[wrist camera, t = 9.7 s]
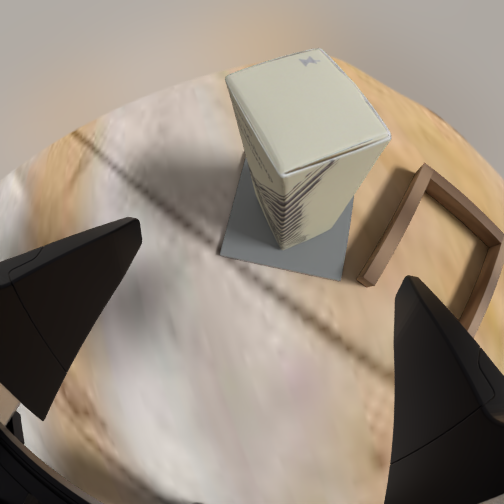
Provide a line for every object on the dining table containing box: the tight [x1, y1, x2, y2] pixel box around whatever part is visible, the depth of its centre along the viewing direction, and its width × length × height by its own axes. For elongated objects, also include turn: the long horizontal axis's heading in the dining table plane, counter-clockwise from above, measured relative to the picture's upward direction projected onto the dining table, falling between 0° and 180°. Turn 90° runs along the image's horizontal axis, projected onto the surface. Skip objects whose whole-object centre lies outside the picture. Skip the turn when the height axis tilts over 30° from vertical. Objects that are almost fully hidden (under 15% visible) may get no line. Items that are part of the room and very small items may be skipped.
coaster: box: [220, 158, 354, 281], centre depth 21 cm, size 9×9×1 cm
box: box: [225, 48, 391, 250], centre depth 14 cm, size 5×4×13 cm
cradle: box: [356, 163, 504, 338], centre depth 18 cm, size 11×11×2 cm
